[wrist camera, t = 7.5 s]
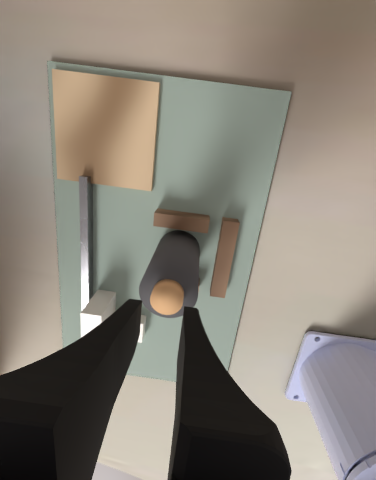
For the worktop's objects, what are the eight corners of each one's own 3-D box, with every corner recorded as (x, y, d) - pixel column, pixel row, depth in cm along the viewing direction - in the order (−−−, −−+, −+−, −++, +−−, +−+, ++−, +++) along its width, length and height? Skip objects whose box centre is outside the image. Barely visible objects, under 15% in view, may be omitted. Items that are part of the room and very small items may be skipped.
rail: (92, 175, 19) (87, 177, 18) (93, 345, 25) (89, 353, 24) (84, 174, 19) (78, 176, 18) (87, 345, 25) (82, 353, 24)
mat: (289, 92, 17) (291, 91, 17) (223, 385, 26) (223, 388, 26) (50, 62, 17) (47, 60, 17) (65, 362, 26) (63, 365, 26)
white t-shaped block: (147, 296, 23) (138, 321, 19) (143, 350, 25) (134, 381, 22) (97, 289, 23) (80, 313, 20) (97, 344, 25) (81, 373, 22)
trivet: (160, 83, 17) (159, 82, 17) (152, 190, 19) (151, 191, 19) (55, 70, 17) (51, 68, 17) (60, 178, 20) (57, 178, 19)
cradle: (238, 219, 20) (240, 224, 19) (223, 291, 22) (225, 300, 21) (157, 208, 20) (154, 212, 19) (151, 281, 22) (148, 290, 21)
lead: (202, 233, 20) (201, 277, 14) (196, 271, 22) (193, 330, 15) (159, 227, 20) (137, 268, 14) (156, 266, 22) (133, 322, 15)
